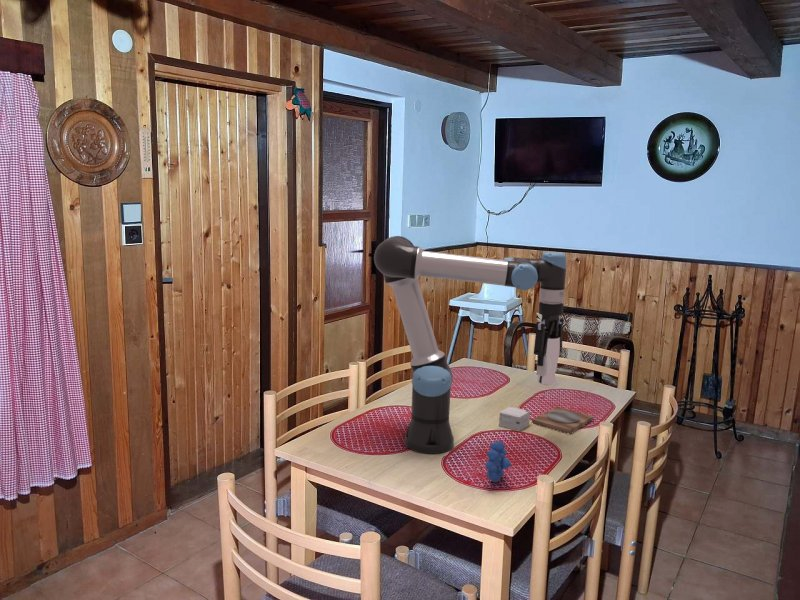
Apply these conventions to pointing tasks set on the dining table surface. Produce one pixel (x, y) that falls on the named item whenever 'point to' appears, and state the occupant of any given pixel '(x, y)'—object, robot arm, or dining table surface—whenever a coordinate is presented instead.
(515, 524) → the dining table surface
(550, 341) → the beer glass
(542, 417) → the walnut board
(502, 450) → the grapes
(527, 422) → the small box
